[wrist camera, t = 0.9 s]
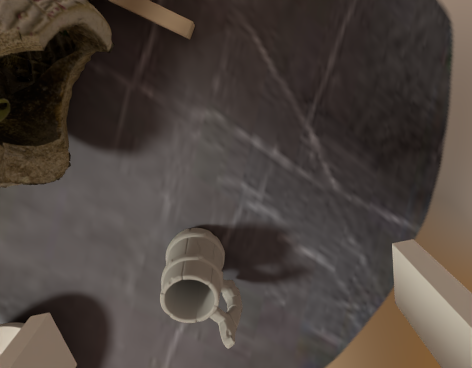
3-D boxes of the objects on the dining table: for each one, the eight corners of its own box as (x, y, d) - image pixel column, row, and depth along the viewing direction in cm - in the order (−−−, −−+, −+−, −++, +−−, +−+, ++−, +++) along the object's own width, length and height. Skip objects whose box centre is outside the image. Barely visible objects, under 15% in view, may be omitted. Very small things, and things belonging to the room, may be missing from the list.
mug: (194, 214, 42) (184, 269, 30) (257, 266, 45) (269, 334, 34) (155, 251, 43) (133, 316, 32) (219, 299, 46) (219, 374, 35)
